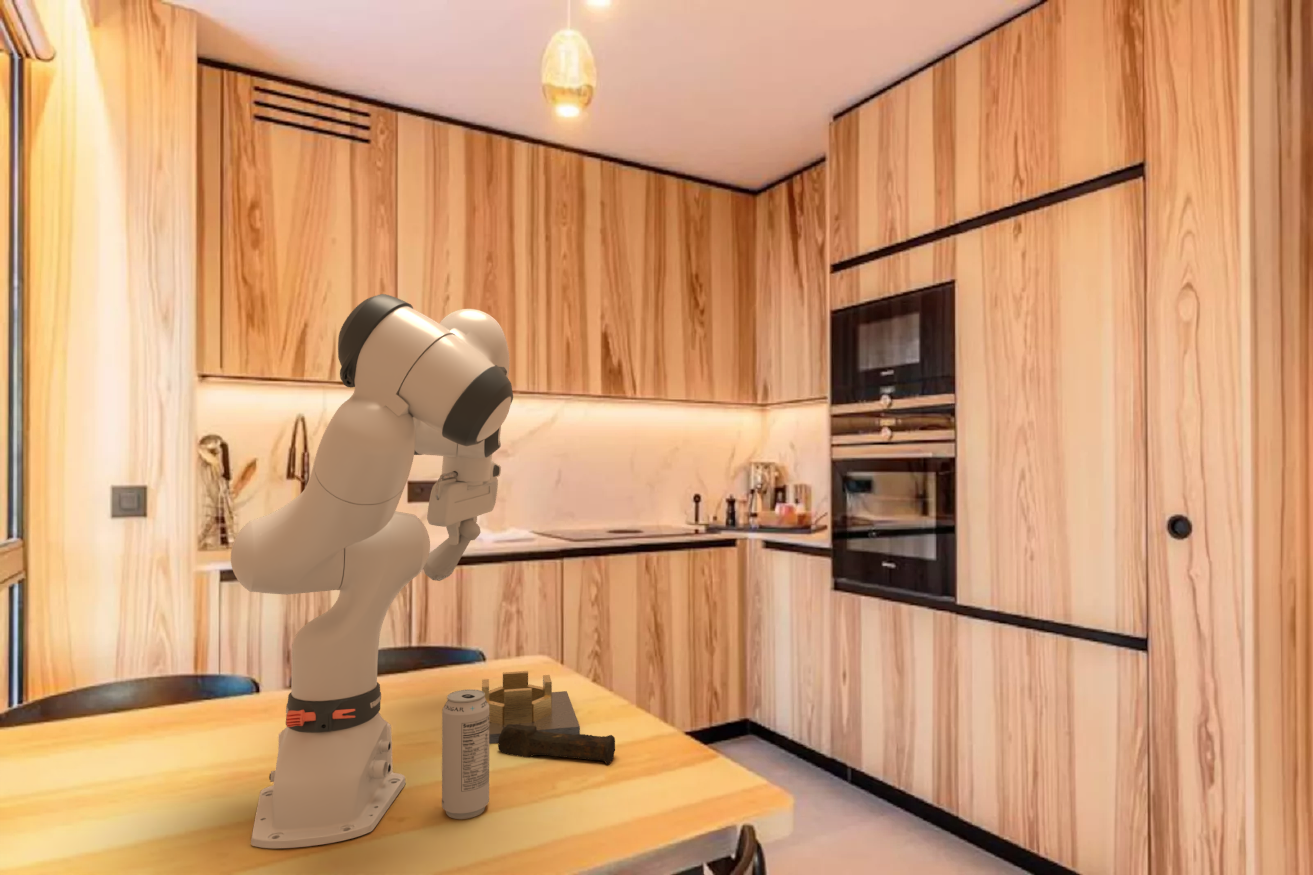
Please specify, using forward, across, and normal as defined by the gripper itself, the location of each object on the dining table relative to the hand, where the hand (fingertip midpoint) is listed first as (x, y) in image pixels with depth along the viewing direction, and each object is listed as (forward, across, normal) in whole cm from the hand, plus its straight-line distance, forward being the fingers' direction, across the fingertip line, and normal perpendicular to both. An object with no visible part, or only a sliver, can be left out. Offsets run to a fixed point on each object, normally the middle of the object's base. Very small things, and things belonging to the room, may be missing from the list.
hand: (460, 541), depth 139 cm
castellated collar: (+29, -6, -17) cm, 34 cm away
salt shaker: (+7, 0, +5) cm, 9 cm away
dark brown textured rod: (+26, -20, -29) cm, 44 cm away
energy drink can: (+25, -39, -24) cm, 52 cm away
